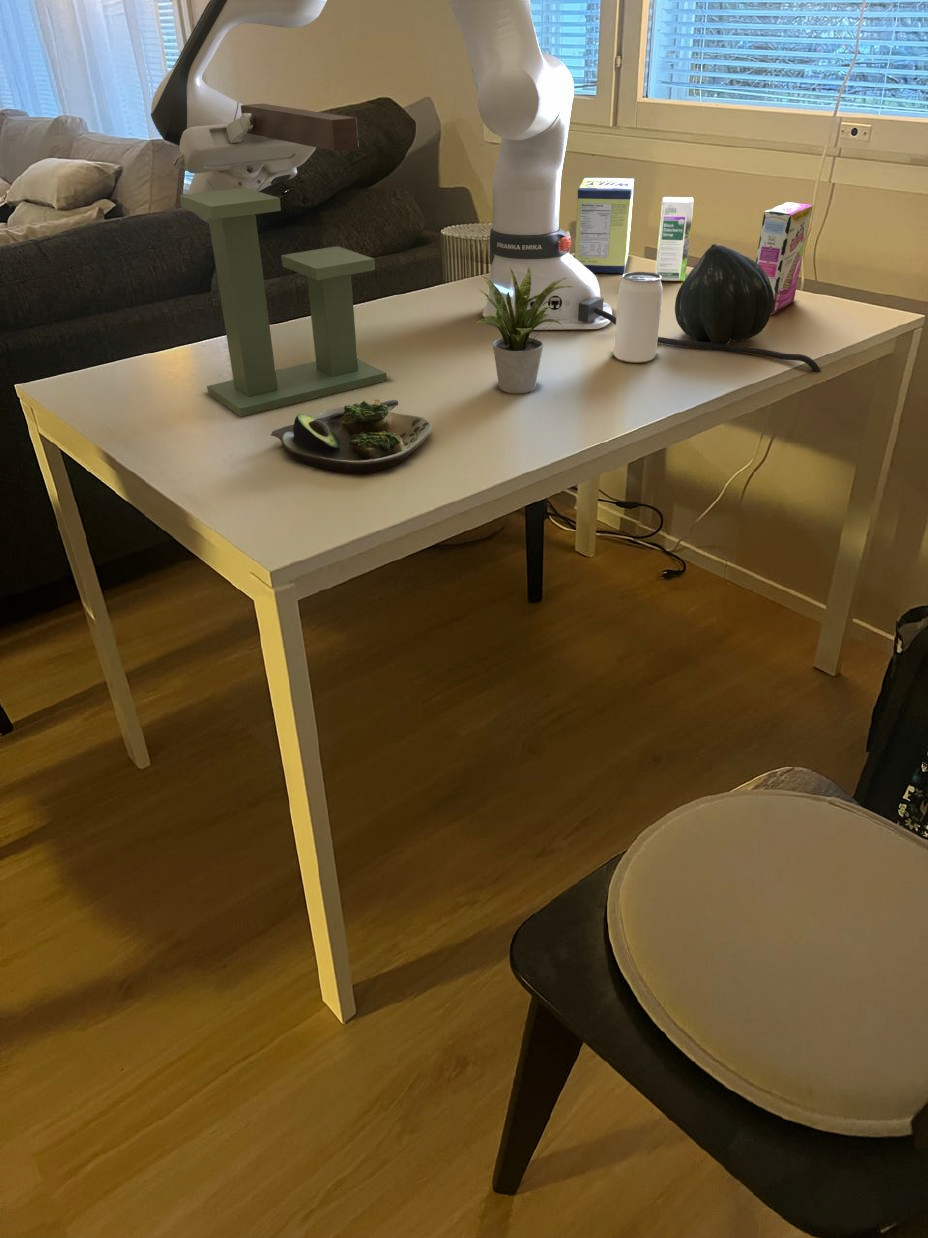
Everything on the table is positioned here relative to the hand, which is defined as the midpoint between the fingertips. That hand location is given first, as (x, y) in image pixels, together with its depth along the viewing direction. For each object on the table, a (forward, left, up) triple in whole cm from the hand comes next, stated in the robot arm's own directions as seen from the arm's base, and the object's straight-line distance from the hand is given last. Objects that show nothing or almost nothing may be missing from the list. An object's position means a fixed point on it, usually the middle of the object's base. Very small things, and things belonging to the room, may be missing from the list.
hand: (266, 116), depth 127 cm
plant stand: (-6, +14, -33) cm, 36 cm away
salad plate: (-20, +33, -33) cm, 51 cm away
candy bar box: (-76, -39, -33) cm, 91 cm away
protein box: (-44, -66, -33) cm, 86 cm away
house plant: (-38, +10, -33) cm, 51 cm away
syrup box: (-58, -57, -33) cm, 87 cm away
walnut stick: (-6, +6, -2) cm, 9 cm away
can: (-53, -7, -33) cm, 63 cm away
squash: (-66, -18, -33) cm, 76 cm away
